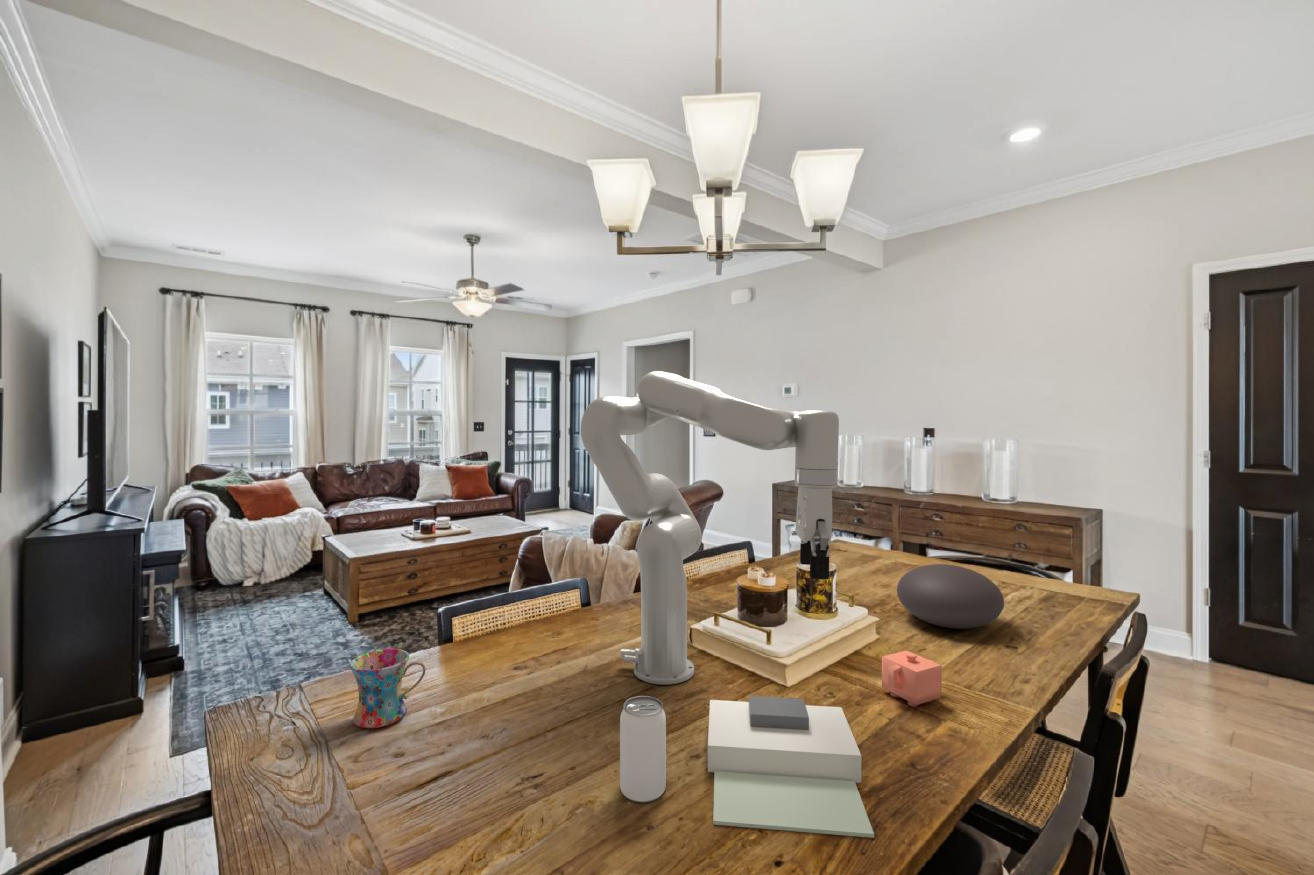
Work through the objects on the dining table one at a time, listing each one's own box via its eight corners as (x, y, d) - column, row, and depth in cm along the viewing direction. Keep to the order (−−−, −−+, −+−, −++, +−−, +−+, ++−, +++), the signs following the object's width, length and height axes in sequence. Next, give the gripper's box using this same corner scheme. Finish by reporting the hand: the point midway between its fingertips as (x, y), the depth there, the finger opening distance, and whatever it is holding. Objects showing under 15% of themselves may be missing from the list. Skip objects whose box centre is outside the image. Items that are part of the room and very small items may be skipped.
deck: (707, 771, 84) (707, 745, 84) (710, 722, 98) (710, 699, 98) (861, 783, 82) (861, 755, 82) (841, 730, 96) (841, 707, 95)
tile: (750, 726, 89) (750, 714, 89) (748, 707, 95) (748, 695, 95) (808, 730, 88) (808, 717, 88) (803, 710, 94) (803, 699, 94)
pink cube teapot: (952, 699, 107) (953, 655, 107) (908, 713, 101) (908, 667, 101) (917, 682, 114) (917, 641, 114) (873, 694, 108) (874, 652, 108)
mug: (345, 737, 93) (344, 673, 93) (356, 710, 102) (355, 652, 102) (424, 725, 97) (423, 664, 97) (427, 700, 106) (427, 643, 106)
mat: (713, 824, 73) (713, 820, 73) (714, 774, 84) (714, 771, 84) (874, 837, 71) (874, 833, 71) (854, 784, 81) (854, 781, 81)
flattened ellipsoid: (1004, 618, 151) (1005, 562, 150) (1002, 650, 130) (1003, 585, 129) (904, 602, 164) (905, 551, 164) (888, 629, 143) (888, 570, 142)
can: (619, 776, 83) (619, 695, 83) (663, 773, 84) (663, 693, 84) (620, 805, 77) (620, 718, 77) (668, 802, 77) (668, 716, 77)
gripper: (787, 473, 113) (785, 559, 113) (803, 483, 95) (801, 584, 96) (826, 474, 112) (824, 560, 113) (849, 484, 95) (846, 585, 95)
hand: (813, 571), depth 104 cm, fingers open, 9 cm apart
